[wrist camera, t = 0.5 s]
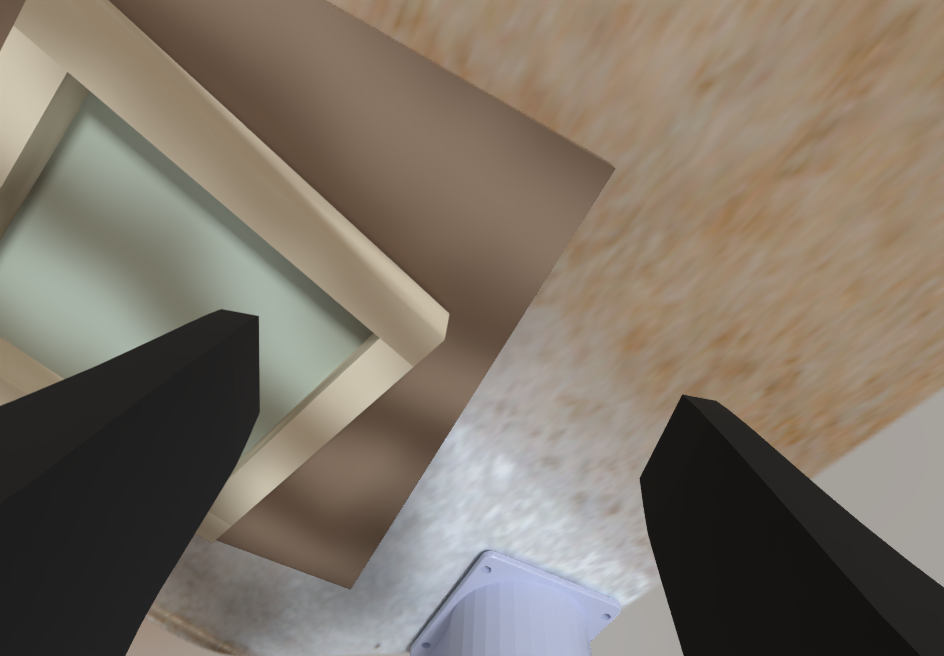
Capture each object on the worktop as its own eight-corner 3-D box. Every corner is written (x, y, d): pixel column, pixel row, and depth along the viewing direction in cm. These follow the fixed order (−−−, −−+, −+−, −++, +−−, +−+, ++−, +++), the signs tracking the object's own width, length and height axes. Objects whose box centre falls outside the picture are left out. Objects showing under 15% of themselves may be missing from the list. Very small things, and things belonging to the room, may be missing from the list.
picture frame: (219, 519, 24) (197, 555, 22) (-92, 319, 20) (-150, 344, 18) (449, 313, 19) (444, 339, 17) (93, -14, 15) (38, -24, 13)
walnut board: (356, 568, 27) (350, 589, 26) (-151, 378, 23) (-182, 393, 22) (608, 161, 18) (615, 168, 17) (-181, -289, 14) (-239, -320, 12)
